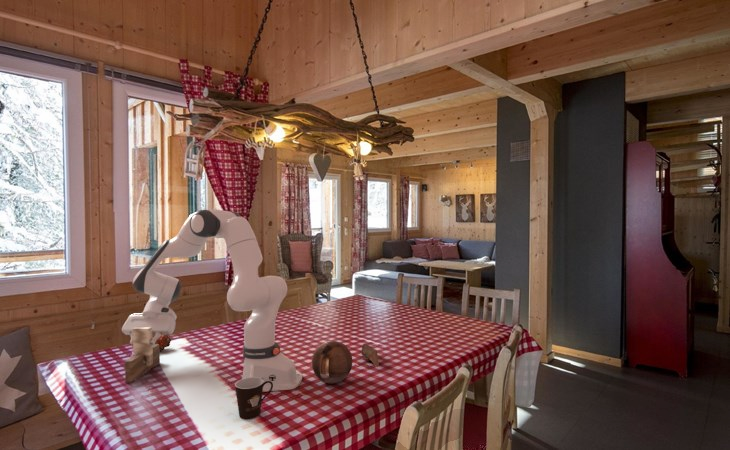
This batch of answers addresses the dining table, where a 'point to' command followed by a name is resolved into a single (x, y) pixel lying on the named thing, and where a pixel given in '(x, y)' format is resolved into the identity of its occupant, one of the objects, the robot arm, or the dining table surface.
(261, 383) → the coffee mug
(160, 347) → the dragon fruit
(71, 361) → the dining table surface
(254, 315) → the robot arm
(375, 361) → the bird sculpture
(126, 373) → the walnut slotted plate
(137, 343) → the ash slotted plate
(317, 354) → the wooden sphere
